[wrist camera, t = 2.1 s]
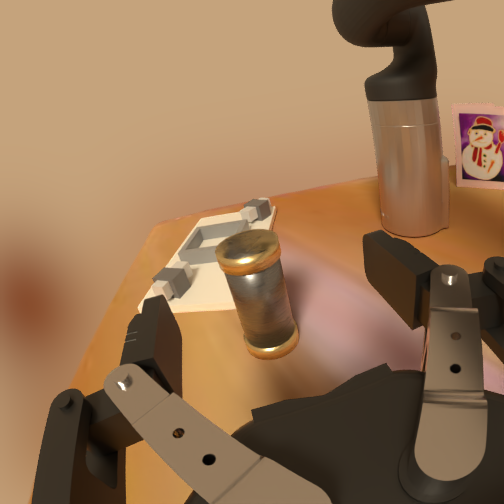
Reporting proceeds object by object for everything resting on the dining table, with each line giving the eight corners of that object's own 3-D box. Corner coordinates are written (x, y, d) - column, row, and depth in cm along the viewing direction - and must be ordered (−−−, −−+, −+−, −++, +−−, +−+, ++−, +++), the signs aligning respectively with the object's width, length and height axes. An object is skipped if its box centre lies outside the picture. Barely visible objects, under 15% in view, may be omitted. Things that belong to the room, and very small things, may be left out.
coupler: (300, 320, 30) (280, 225, 25) (297, 358, 26) (274, 256, 21) (251, 324, 31) (223, 233, 27) (242, 360, 27) (206, 264, 22)
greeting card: (456, 188, 47) (451, 104, 41) (454, 175, 53) (449, 101, 46) (512, 192, 41) (511, 108, 34) (505, 178, 46) (503, 103, 40)
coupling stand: (276, 211, 56) (272, 192, 54) (250, 308, 33) (241, 279, 32) (202, 223, 59) (196, 205, 58) (140, 313, 37) (128, 290, 35)
